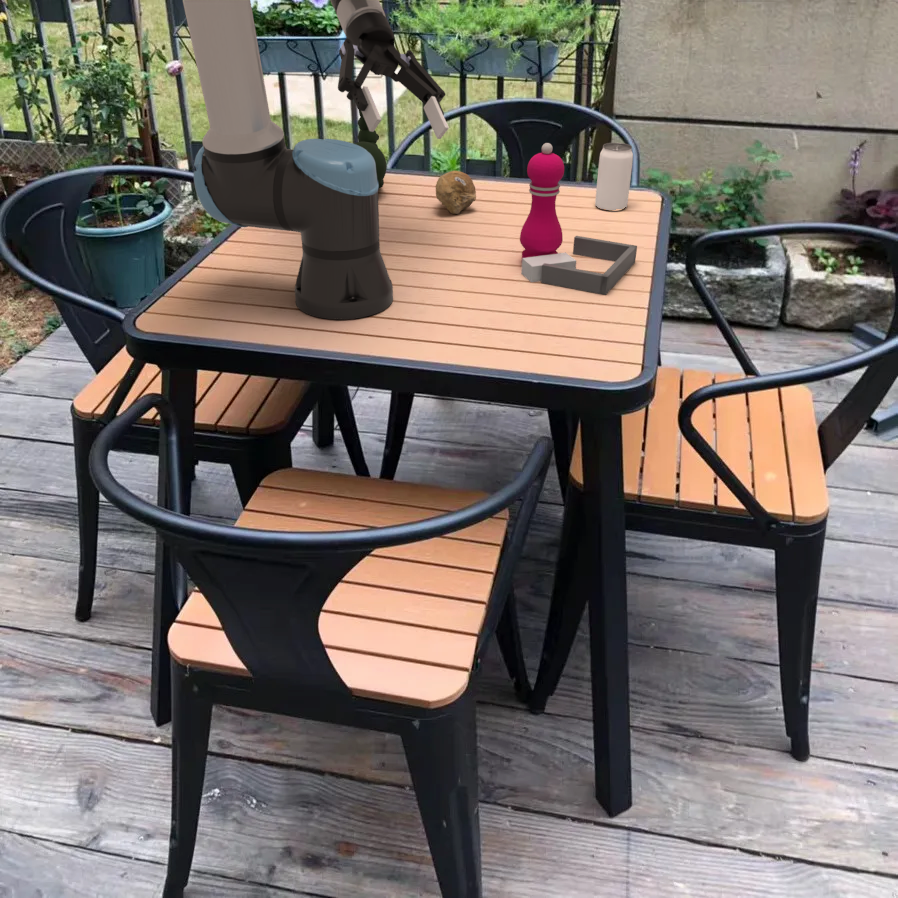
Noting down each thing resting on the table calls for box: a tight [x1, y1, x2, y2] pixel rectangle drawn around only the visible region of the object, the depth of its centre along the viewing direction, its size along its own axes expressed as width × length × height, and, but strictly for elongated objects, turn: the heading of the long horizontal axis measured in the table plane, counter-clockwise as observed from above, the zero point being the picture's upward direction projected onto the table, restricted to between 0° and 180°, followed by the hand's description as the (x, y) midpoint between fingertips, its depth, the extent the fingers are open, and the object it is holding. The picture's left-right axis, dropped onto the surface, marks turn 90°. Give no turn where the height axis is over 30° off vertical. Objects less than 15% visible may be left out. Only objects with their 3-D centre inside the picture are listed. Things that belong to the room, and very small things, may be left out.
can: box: [594, 142, 634, 210], centre depth 172 cm, size 6×6×12 cm
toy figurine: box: [353, 110, 388, 190], centre depth 180 cm, size 9×19×25 cm
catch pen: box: [540, 235, 638, 296], centre depth 145 cm, size 16×11×3 cm
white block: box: [520, 252, 577, 283], centre depth 144 cm, size 8×4×3 cm, turn 110°
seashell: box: [435, 170, 477, 215], centre depth 173 cm, size 14×8×8 cm, turn 5°
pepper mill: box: [519, 142, 565, 259], centre depth 144 cm, size 7×7×20 cm
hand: (410, 129), depth 140 cm, fingers open, 13 cm apart
